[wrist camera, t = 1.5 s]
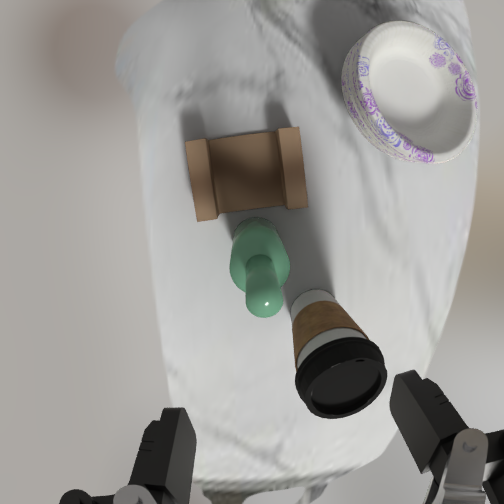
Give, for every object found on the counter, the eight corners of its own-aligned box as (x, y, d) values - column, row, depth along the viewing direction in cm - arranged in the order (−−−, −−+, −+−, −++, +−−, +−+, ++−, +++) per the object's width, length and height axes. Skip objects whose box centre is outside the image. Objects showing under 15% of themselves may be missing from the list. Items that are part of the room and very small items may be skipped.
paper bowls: (455, 96, 28) (494, 90, 20) (409, 185, 32) (447, 195, 24) (366, 20, 25) (393, -7, 18) (306, 108, 29) (326, 93, 21)
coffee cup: (351, 281, 35) (406, 351, 21) (338, 338, 38) (375, 420, 23) (284, 277, 35) (310, 355, 20) (276, 337, 37) (291, 426, 23)
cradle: (190, 143, 30) (184, 141, 27) (293, 129, 30) (298, 126, 27) (201, 215, 32) (197, 221, 29) (301, 202, 32) (308, 207, 29)
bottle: (230, 220, 33) (219, 270, 18) (275, 214, 32) (300, 259, 18) (236, 263, 34) (232, 337, 20) (280, 257, 34) (304, 328, 20)
